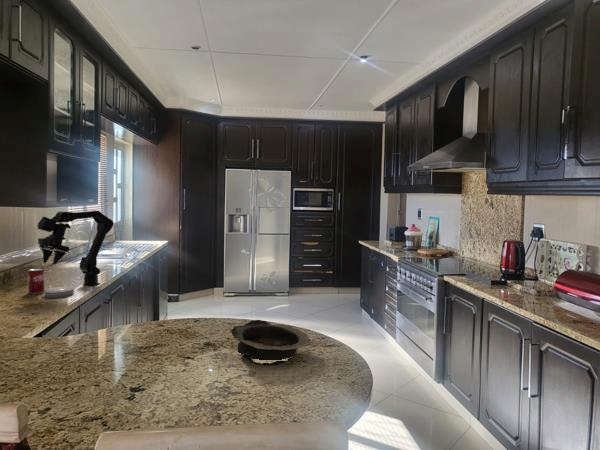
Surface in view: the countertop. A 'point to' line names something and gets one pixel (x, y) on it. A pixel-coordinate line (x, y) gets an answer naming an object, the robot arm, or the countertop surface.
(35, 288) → the soda can
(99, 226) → the robot arm
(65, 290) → the riser
